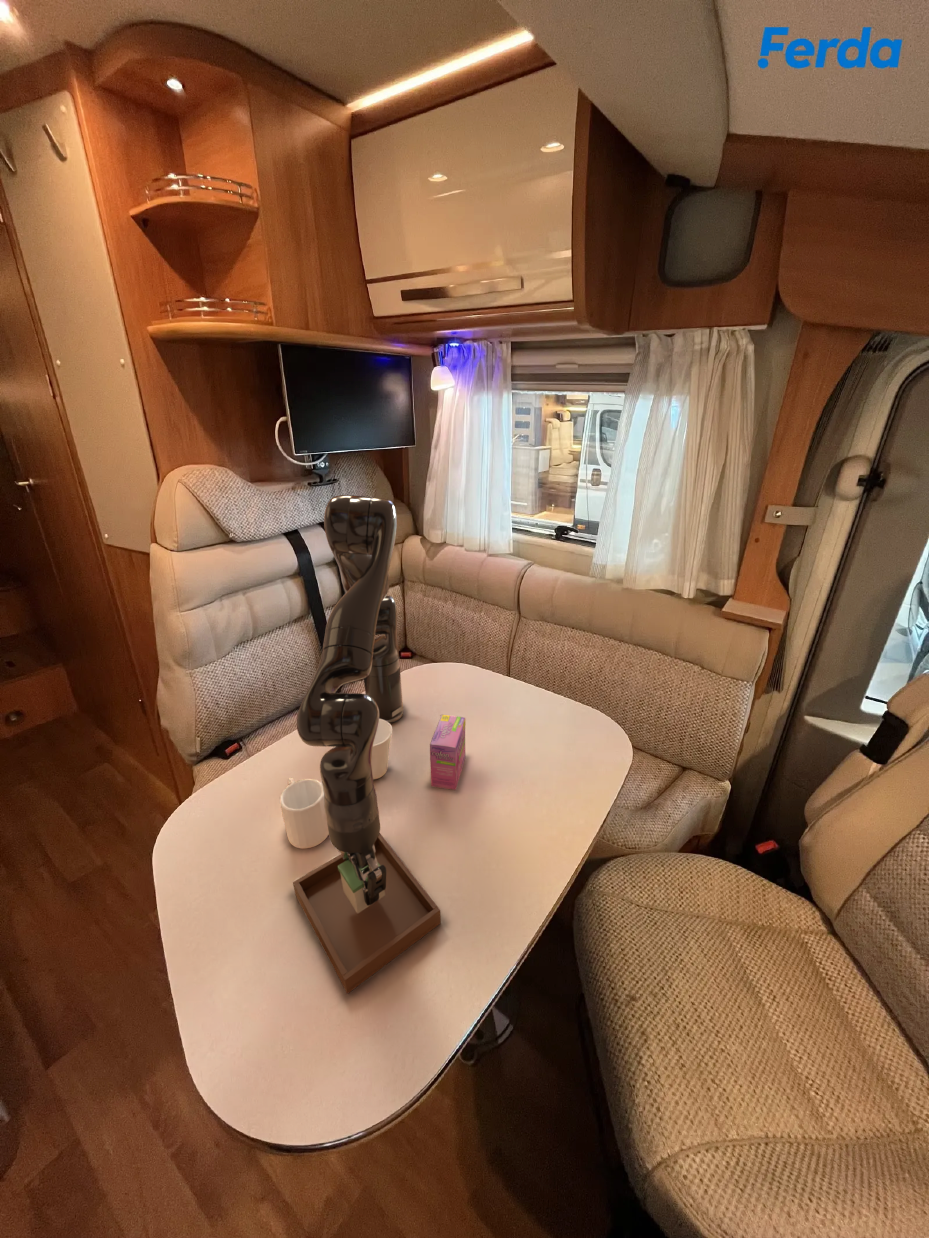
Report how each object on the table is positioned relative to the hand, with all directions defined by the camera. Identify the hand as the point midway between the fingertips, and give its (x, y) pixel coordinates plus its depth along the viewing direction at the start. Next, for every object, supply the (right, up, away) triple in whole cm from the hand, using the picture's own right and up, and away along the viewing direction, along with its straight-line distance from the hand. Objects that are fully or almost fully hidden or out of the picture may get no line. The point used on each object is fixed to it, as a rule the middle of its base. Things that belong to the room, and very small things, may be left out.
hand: (363, 887), depth 81 cm
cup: (-4, +9, +32) cm, 33 cm away
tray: (0, -5, +2) cm, 5 cm away
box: (+13, +9, +31) cm, 35 cm away
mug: (-15, +2, +18) cm, 24 cm away
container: (0, -1, +1) cm, 1 cm away
